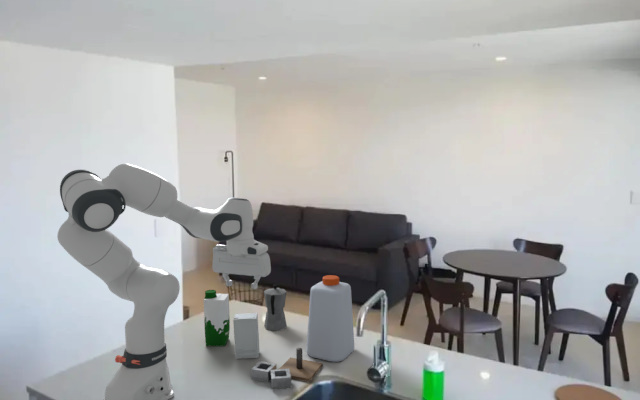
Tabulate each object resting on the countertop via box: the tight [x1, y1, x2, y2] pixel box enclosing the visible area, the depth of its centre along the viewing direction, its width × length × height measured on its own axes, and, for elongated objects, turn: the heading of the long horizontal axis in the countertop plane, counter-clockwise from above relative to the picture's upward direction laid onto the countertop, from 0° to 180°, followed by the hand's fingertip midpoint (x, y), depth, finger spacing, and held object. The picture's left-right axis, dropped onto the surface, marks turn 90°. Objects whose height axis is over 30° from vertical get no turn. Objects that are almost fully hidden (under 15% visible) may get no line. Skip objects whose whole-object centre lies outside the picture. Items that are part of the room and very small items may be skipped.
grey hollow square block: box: [250, 360, 277, 383], centre depth 158 cm, size 6×6×4 cm
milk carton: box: [203, 289, 231, 347], centre depth 183 cm, size 9×9×20 cm
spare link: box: [270, 368, 292, 390], centre depth 153 cm, size 6×6×4 cm
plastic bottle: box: [305, 274, 355, 363], centre depth 174 cm, size 15×15×28 cm
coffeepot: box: [263, 284, 287, 332], centre depth 198 cm, size 15×9×18 cm, turn 178°
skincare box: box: [232, 312, 260, 360], centre depth 173 cm, size 8×6×15 cm
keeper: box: [278, 347, 324, 383], centre depth 162 cm, size 12×12×8 cm
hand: (241, 287), depth 161 cm, fingers open, 8 cm apart
